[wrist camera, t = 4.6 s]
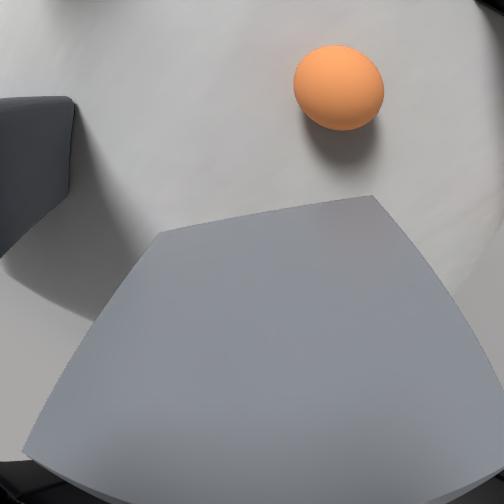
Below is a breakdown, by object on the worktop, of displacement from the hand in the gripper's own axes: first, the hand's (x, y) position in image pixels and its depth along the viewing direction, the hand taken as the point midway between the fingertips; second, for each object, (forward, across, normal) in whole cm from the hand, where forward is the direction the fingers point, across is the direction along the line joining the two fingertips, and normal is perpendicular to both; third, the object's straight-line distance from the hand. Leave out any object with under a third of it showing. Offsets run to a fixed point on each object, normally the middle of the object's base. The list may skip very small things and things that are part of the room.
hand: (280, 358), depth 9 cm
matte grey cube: (+3, 0, 0) cm, 3 cm away
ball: (+10, -5, -8) cm, 14 cm away
